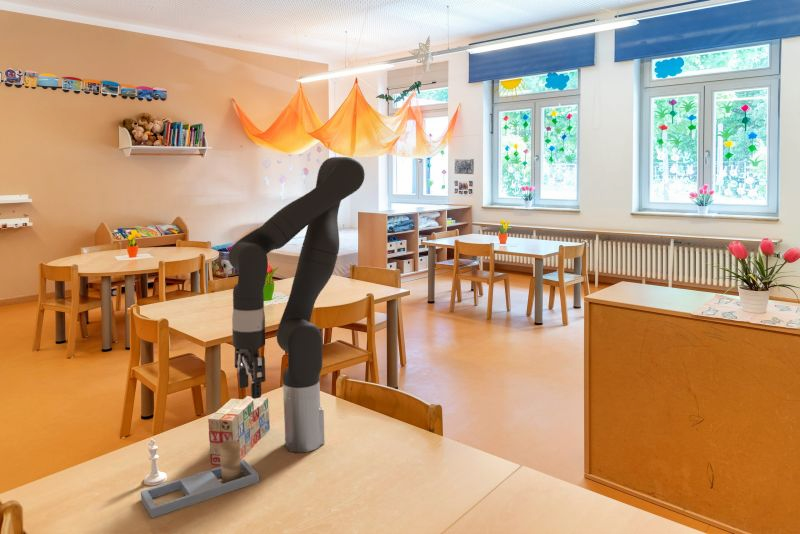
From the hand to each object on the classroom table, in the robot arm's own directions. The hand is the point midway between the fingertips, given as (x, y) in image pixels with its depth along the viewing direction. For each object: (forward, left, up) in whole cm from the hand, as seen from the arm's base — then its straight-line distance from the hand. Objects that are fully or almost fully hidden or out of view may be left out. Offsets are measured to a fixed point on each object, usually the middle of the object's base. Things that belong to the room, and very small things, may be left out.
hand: (249, 392), depth 144 cm
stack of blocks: (-1, -9, -18) cm, 20 cm away
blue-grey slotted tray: (+15, +6, -18) cm, 24 cm away
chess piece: (+22, -5, -18) cm, 29 cm away
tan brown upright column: (+8, +6, -18) cm, 20 cm away
